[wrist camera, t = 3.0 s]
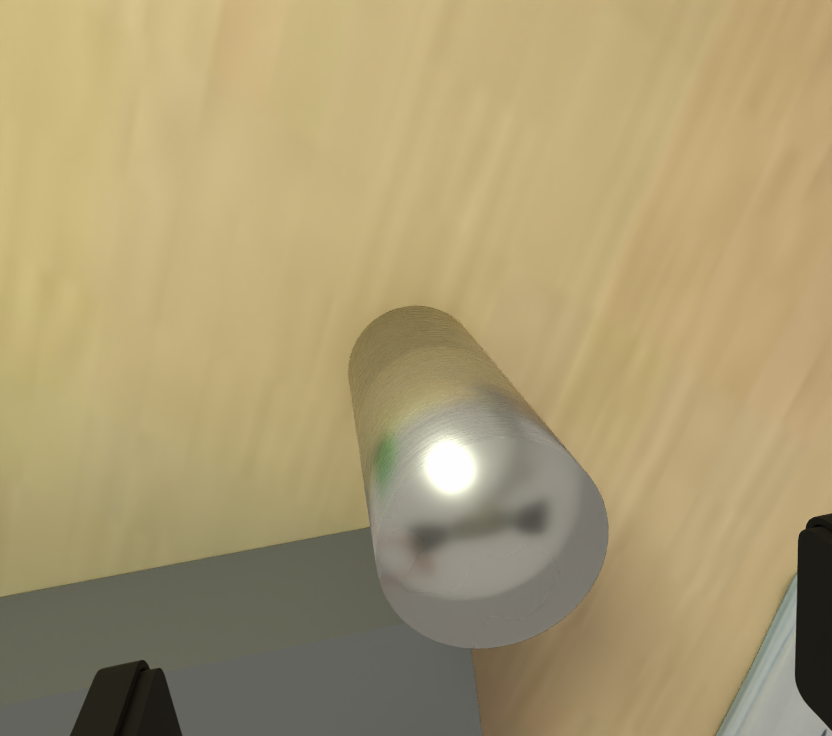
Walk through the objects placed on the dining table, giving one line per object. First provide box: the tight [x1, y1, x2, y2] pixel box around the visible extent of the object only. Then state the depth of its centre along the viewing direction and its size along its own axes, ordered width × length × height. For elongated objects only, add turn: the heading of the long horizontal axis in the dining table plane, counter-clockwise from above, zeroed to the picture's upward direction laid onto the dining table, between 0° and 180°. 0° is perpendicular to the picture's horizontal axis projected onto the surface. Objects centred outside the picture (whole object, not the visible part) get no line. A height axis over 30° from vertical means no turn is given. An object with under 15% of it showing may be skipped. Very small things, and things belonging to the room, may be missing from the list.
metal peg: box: [348, 306, 608, 649], centre depth 16 cm, size 4×4×10 cm
